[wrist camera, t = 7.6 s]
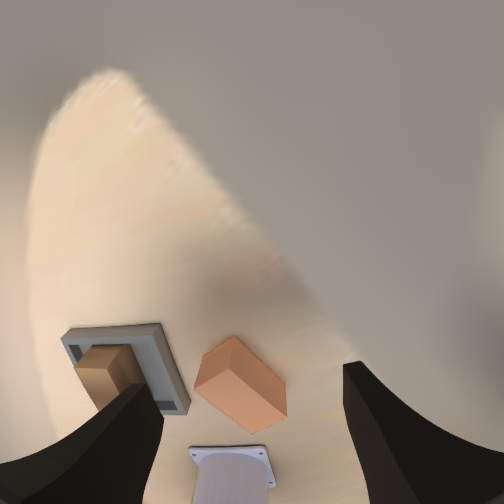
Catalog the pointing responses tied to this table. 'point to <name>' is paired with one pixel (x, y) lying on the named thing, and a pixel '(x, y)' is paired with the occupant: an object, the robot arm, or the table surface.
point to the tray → (138, 359)
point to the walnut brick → (108, 372)
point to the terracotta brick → (241, 386)
